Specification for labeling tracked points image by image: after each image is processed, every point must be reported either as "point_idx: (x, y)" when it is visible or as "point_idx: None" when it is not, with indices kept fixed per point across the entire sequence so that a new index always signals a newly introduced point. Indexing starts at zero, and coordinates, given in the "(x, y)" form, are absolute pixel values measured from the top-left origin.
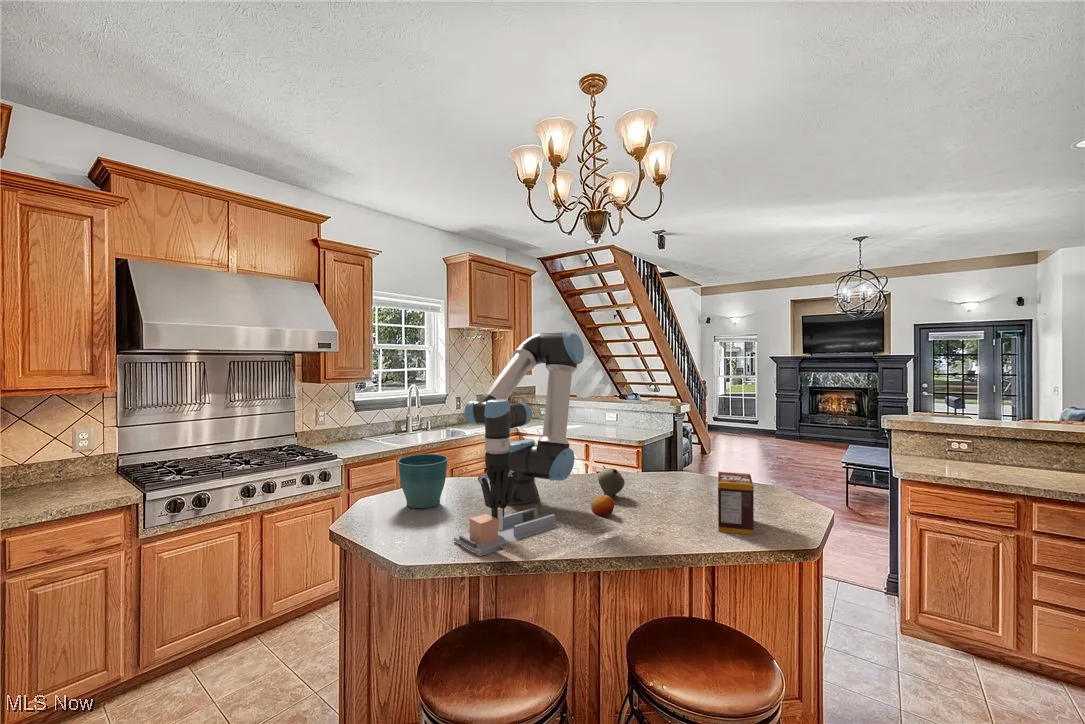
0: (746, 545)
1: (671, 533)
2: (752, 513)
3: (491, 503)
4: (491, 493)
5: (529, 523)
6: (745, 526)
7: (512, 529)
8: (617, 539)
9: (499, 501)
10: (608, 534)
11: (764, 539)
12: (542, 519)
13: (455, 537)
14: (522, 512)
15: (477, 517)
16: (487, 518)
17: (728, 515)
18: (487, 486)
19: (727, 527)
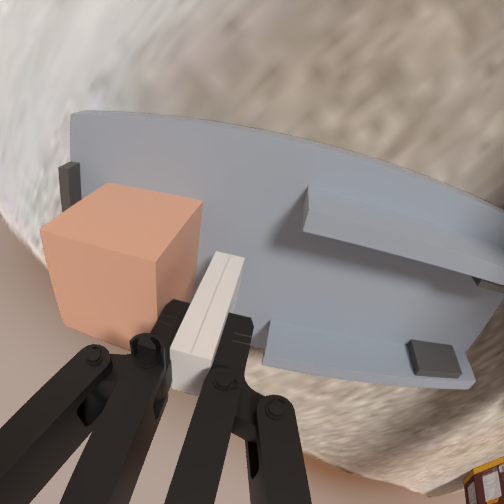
0: (430, 488)
1: (460, 457)
2: (466, 502)
3: (96, 408)
4: (89, 456)
5: (345, 376)
6: (466, 486)
7: (336, 274)
8: (414, 443)
9: (212, 407)
10: (439, 428)
11: (452, 485)
12: (413, 384)
13: (72, 123)
14: (480, 277)
15: (77, 259)
16: (117, 317)
17: (472, 492)
18: (13, 497)
19: (470, 477)
